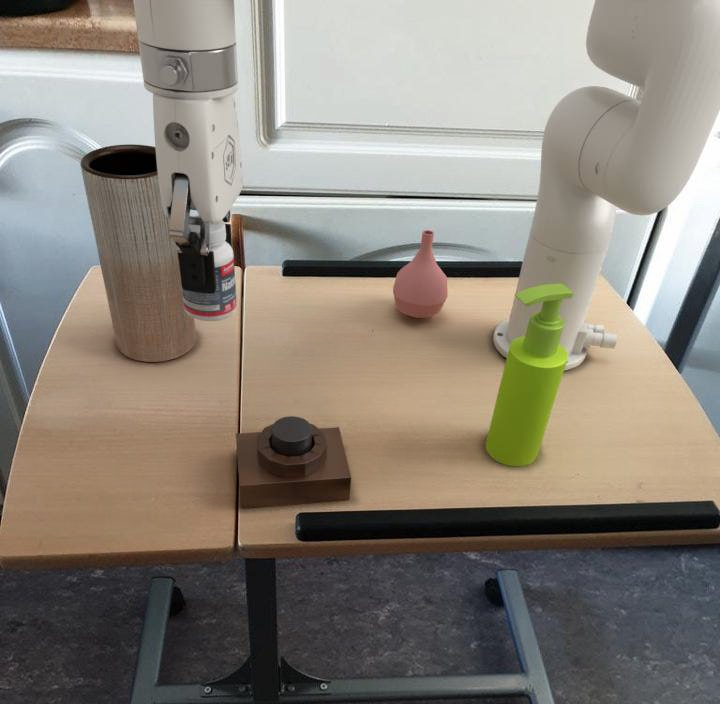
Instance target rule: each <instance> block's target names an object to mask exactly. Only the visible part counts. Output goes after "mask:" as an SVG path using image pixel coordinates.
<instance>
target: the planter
mask: <svg viewBox="0 0 720 704" xmlns="http://www.w3.org/2000/svg"><path fill="white" fill-rule="evenodd" d="M79 165H80V170H81V176H82V181H83V185H84V190H85V195H86V200H87V204H88V210H89V215H90V221H91V226H92V229H93V235H94V239H95V244H96V249H97V255H98V259H99V264H100V268H101V275H102V279H103V284H104V289H105V295H106V299H107V305H108V308H109V313H110V319H111V324H112V328H113V334H114V338H115V339H114V340H115V342H116V345H117V348H118V350H119V352H121V353H122V354H123V355H124V356H126V357H128V358H129V359H133V360H136V361H141V362H147V363H156V362H157V363H158V362H166V361H170V360H171V361H172V360H173V359H176V358H179V357H181V356H184V355H185V354H187V353H188V352H189V351H191V350H192V349H193V347H194V346H195V344H196V341H197V334H196V333H197V332H196V323H195V322H196V321H195V319H194V318H192V317H190V316H189V315H188V314H187V313H186V312H185V309H184V303H183V292H182V284H181V276H180V267H179V259H178V253H177V251H176V243H175V241H174V240H173V239H172V238H171V237H170V235H169V225H170V219H169V218H168V217H167V216H166V215H165V213H164V211H163V206H162V201H161V195H160V189H159V181H158V171H157V161H156V149H155V146H153V145H145V144H134V143H133V144H130V143H129V144H113V145H108V146H103V147H100V148H96V149H93V150H92V151H89V152H88V153H86V154H84V156H82V158H81V160H80V164H79Z"/></svg>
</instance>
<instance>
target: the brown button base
mask: <svg viewBox="0 0 720 704" xmlns="http://www.w3.org/2000/svg"><path fill="white" fill-rule="evenodd" d="M273 424H274V423H271V424H270V425H267V426H265V427H264V428H263V429H262V430H261V431H255V432H253V431H252V432H239V433H238V432H237V433H235V444H236V456H237V457H236V458H237V471H238V483H239V495H240V497H239V498H240V509H254V508H265V507H266V508H267V507H268V508H269V507H278V506H291V505H293V506H294V505H303V504H316V503H317V504H318V503H330V502H342V501H350V499H351V498H350V497H351V486H352V475H351V470H350V466H349V462H348V459H347V455H346V450H345V445H344V442H343V437H342V434H341V430H340V427H339V426H336V427H334V426H333V427H320V428H319V427H317V426H316V425H315V424H314V423H310V424H311V426H312V446H311V449H310V450H309V451H308V452H307V453H306V454H304V455H302V456H292V457H287V456H284V455H280V454H278V453H277V452H276V451H275V450H274V449H273V447H272V426H273Z"/></svg>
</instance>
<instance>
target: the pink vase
mask: <svg viewBox="0 0 720 704" xmlns="http://www.w3.org/2000/svg"><path fill="white" fill-rule="evenodd" d="M434 235H435V232H434V231H433V230H430V229H425V230H422V233H421V240H420V247H419V249H418V252H416V254H415V255H414V257H413V258H412V260H410V261H409V262H408V263H407V264H405V265H404V266H403V267H402V268H400V269H399V271H397V272H396V277H395V280H394V283H393V287H392V293H393V298H394V303H395V307H396V308H397V310H398V311H399V312H401V313H402V314H404V315H407V316H409V317H412V318H416V319H421V318H430V317H435V316H436V315H438V314H439V313H441V310H442V308H443V307H444V305H445V303H446V301H447V299H448V296H449V293H448V277H447V275H446V274H445V273H444V271H443V270H442V269H441V267H440V266H439V265H438V263H437V261H436V258H435V255H434V252H433V244H434Z"/></svg>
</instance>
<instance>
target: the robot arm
mask: <svg viewBox="0 0 720 704" xmlns="http://www.w3.org/2000/svg"><path fill="white" fill-rule="evenodd" d="M132 3H133V10H134V18H135V27H136V33H137V34H136V35H137V43H138V50H139V57H140V64H141V65H140V66H141V73H142V79H143V87H144V89H145V90H146V91H147V92H150V93H151V94H152V110H153V112H152V113H153V132H154V133H153V134H154V147H155V149H156V161H157V171H158V181H159V189H160V195H161V201H162V206H163V211H164V213H165V215H166V216H167V217H168V218H169V219H170V225H169V235H170V237H171V238H172V239H173V240H174V241H175V243H176V251H177V253H178V259H179V267H180V276H181V284H182V288H183V289H184V290H186V291H194V292H202V293H210V294H213V293H214V292H215V291H216V276H215V263H214V252H213V251H209V247H210V223H211V224H212V225H216V224H218V223H219V222H220V221H221V220H223V221H224V223H225V228H226V240H225V241H226V242H227V243H228V244H229V245H230V246H231V247H232V248H233V239H232V238H233V237H232V224H231V223H230V222H231V215H232V214H231V208H232V207H233V205H234V203H235V202H236V201H237V199H238V197H239V196H240V194H241V192H242V191H243V185H244V176H243V165H242V164H243V163H242V152H241V143H240V131H239V130H240V129H239V121H238V113H237V105H236V98H235V93H237V91H238V90H239V76H238V55H237V54H238V53H237V51H238V50H237V39H236V37H237V36H236V19H235V18H236V16H235V15H236V14H235V0H132ZM585 47H586V53H587V56H588V58H589V60H590V62H591V63H592V64H593V65H594V66H595V68H598V69H599V70H601V71H603V72H604V73H606V74H608V75H609V76H612V77H614V78H616V79H619V80H621V81H623V82H626V83H628V84H630V85H632V86H634V87H637V88H640V89H642V90H644V91H643V94H642V98H641V100H639V99H636V98H634V97H632V96H629V95H627V94H626V93H625V94H624V93H623V92H621V91H618V90H616V89H612V88H609V87H605V86H598V85H589V86H582V87H580V88H576V89H575V90H572V91H570V92H569V93H567V94H566V95H565V96H564V97H563V98H562V99H560V100H559V101H558V103H557V104H556V105H555V106H554V108H553V109H552V111H551V113H550V115H549V117H548V118H547V122H546V124H545V128H544V130H543V135H542V142H541V151H540V153H541V154H540V155H541V156H540V173H539V174H540V175H539V186H538V192H537V198H536V204H535V208H534V212H533V217H532V221H531V227H530V230H529V234H528V237H527V242H526V246H525V249H524V256H523V259H522V264H521V268H520V272H519V276H518V279H517V280H518V281H517V283H516V284H517V285H516V289H515V292H514V297H513V301H512V306H511V309H510V314H509V317H508V318H507V319H505V320H503V321H501V322H500V323H498V324H497V326H496V327H495V329H494V332H493V336H492V337H493V339H492V341H493V342H492V343H493V345H494V347H495V349H496V351H498V352H499V354H501V356H502V357H504V358H506V359H507V355H508V351H509V347H510V344H511V342H512V341H513V340H515V339H516V338H519V337H522V336H525V335H526V331H527V327H528V323H529V319H530V317H531V315H532V314H534V313H536V312H541V308H542V304H543V302H540V303H537V304H534V305H531V306H528V307H527V306H526V305H525V304H523V303H522V302H521V301H520V300H519V299H518V298H517V297H516V296H515V294H516V293H518V292H520V291H523V290H525V289H528V288H531V287H535V286H540V285H548V284H563V285H564V286H565V287H567V288H568V289H569V290H571V291H572V292H573V296H572V298H569V299H563V300H562V303H561V307H560V310H559V313H558V316H559V317H561V318H562V319H563V321H564V328H563V331H562V335H561V338H560V341H559V344H560V345H561V346H563V347H564V349H565V350H566V351H567V354H568V359H567V363H566V366H565V369H564V372H565V371H568V370H572V369H575V368H576V367H578V366H580V365H581V364H582V363H583V362H584V360H585V358H586V356H587V353H588V349H590V348H591V347H598V348H603V349H611V350H614V349H615V348H616V345H617V341H618V335H617V334H616V333H610V332H605V330H606V329H605V325H603V324H590V323H588V322H587V321H586V318H587V314H588V311H589V308H590V304H591V301H592V299H593V296H594V292H595V289H596V286H597V283H598V280H599V277H600V273H601V270H602V267H603V264H604V260H605V259H606V255H607V251H608V249H609V246H610V242H611V239H612V236H613V233H614V228H615V224H616V216H617V208H618V209H620V210H622V211H624V212H626V213H627V214H632V215H635V216H650V215H651V216H652V215H655V214H656V213H659V212H660V211H663V210H664V209H665V208H667V207H668V206H670V205H671V204H672V203H673V202H674V201H675V200H676V199H677V197H678V196H679V195H680V194H681V193H682V191H683V190H684V188H685V187H686V185H687V184H688V182H689V180H690V179H691V177H692V175H693V173H694V171H695V169H696V166H697V164H698V162H699V160H700V158H701V155H702V154H703V151H704V148H705V146H706V144H707V142H708V139H709V137H710V134H711V132H712V129H713V127H714V125H715V123H716V120H717V118H718V116H719V114H720V113H719V112H720V0H594V4H593V8H592V10H591V15H590V18H589V22H588V27H587V31H586V39H585ZM191 211H196V212H197V214H198V216H200V217H196V216H197V215H191ZM189 224H192V225H200V238H199V236H198V235H197V233H196V232H191V229H190V228H189Z"/></svg>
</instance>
